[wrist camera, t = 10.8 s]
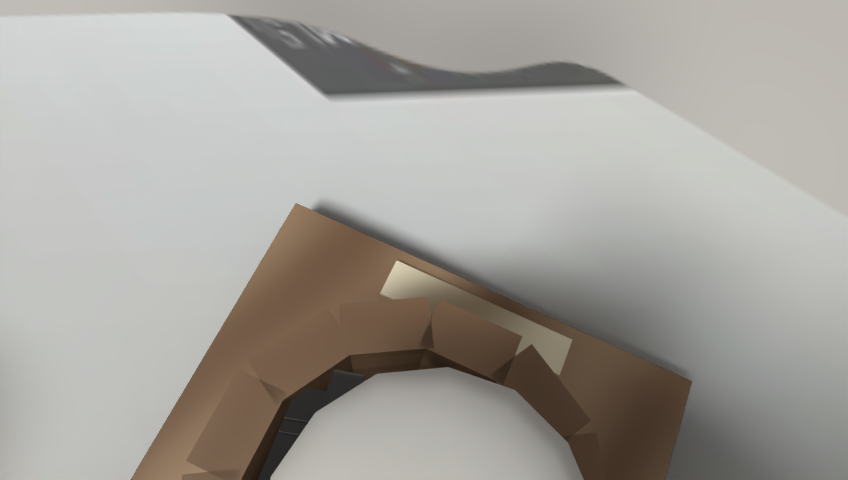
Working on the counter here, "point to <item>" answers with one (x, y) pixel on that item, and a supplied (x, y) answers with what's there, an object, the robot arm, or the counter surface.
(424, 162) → the counter surface
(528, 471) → the salt shaker
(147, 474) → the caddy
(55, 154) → the counter surface
